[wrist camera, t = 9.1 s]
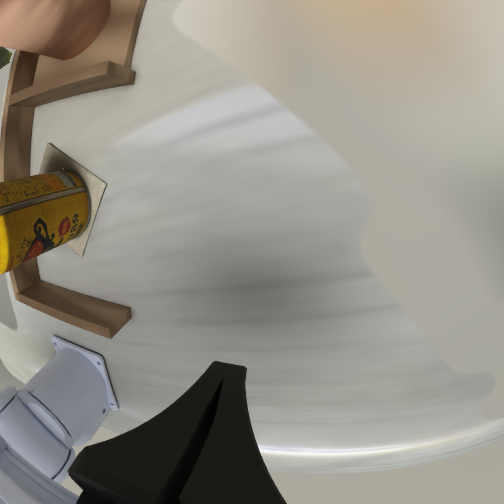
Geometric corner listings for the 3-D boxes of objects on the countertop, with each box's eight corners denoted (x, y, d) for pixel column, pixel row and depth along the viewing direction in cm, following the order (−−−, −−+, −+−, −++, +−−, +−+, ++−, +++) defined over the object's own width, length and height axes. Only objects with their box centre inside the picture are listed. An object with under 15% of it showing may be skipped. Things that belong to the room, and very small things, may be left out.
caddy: (131, 317, 22) (65, 388, 13) (36, 286, 24) (-25, 327, 14) (167, -45, 12) (116, -102, 2) (59, -4, 13) (0, -27, 4)
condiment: (83, 257, 21) (-20, 320, 10) (31, 210, 21) (-63, 246, 10) (108, 183, 19) (-25, 219, 8) (49, 142, 18) (-61, 155, 7)
